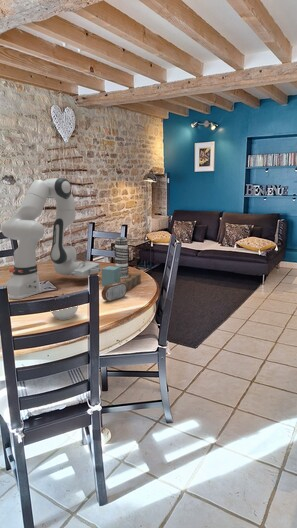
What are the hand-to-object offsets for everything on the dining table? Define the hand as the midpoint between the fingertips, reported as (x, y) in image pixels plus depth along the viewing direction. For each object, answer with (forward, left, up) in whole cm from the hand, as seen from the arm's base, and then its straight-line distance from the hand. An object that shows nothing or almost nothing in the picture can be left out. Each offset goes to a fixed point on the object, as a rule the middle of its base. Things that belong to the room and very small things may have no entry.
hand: (99, 270), depth 209 cm
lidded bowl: (-55, -12, -8) cm, 56 cm away
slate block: (-1, -8, -8) cm, 11 cm away
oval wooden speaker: (-25, -22, -8) cm, 34 cm away
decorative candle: (+18, -6, -8) cm, 21 cm away
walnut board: (-1, -20, -7) cm, 22 cm away
